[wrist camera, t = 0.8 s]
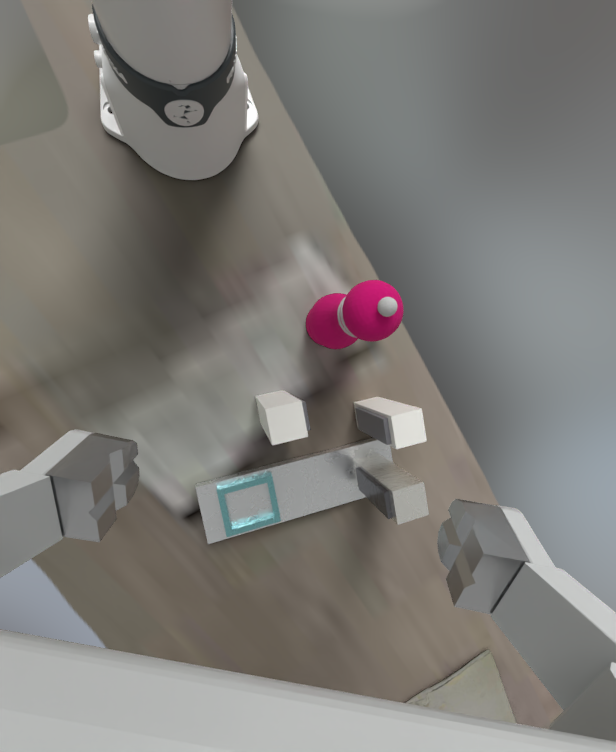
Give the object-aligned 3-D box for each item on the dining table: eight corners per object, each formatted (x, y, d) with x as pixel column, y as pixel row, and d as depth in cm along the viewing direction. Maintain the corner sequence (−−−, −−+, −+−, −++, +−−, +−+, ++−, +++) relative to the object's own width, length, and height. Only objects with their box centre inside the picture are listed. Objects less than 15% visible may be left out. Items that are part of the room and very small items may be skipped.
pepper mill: (340, 292, 51) (414, 253, 31) (357, 339, 52) (438, 330, 32) (295, 308, 49) (342, 278, 30) (312, 356, 50) (369, 358, 31)
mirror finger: (349, 403, 52) (386, 417, 40) (377, 396, 53) (421, 408, 41) (354, 429, 52) (391, 450, 41) (382, 422, 53) (426, 441, 42)
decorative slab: (379, 712, 57) (384, 725, 55) (483, 640, 61) (491, 649, 59) (434, 832, 61) (441, 848, 59) (528, 757, 65) (538, 769, 63)
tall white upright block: (255, 395, 49) (265, 409, 37) (287, 389, 50) (306, 399, 38) (260, 423, 49) (272, 445, 37) (292, 416, 50) (313, 435, 38)
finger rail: (196, 483, 47) (186, 532, 34) (384, 434, 54) (436, 461, 40) (208, 538, 48) (203, 607, 35) (392, 484, 54) (446, 525, 41)
